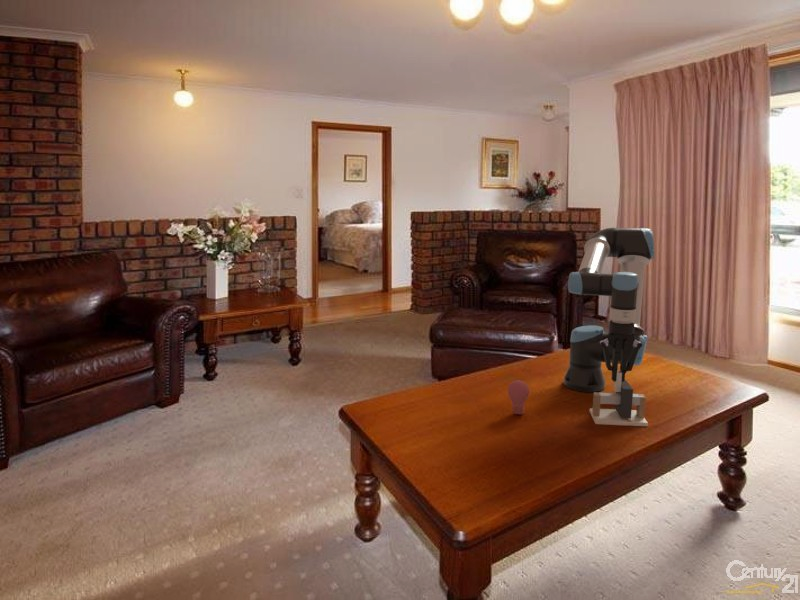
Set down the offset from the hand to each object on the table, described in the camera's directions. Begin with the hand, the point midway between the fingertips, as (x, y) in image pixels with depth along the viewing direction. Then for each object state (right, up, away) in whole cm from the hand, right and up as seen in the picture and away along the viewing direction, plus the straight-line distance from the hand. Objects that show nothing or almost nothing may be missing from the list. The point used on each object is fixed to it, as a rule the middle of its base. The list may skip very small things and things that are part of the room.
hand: (617, 390), depth 173 cm
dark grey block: (+2, -8, +1) cm, 8 cm away
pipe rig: (+1, -10, +2) cm, 10 cm away
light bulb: (-31, -9, +7) cm, 33 cm away
